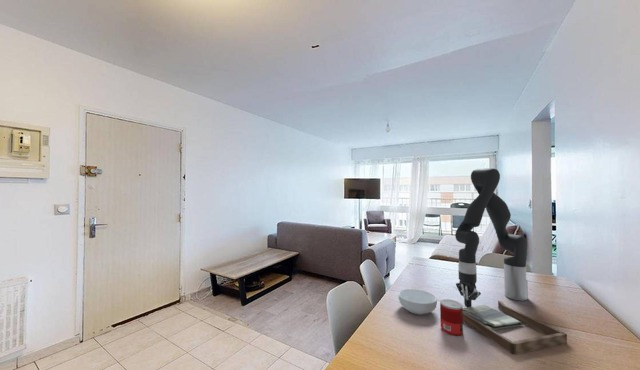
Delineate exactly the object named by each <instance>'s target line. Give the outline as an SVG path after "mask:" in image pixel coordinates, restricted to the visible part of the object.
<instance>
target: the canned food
mask: <svg viewBox="0 0 640 370" xmlns="http://www.w3.org/2000/svg"><path fill="white" fill-rule="evenodd" d="M439 306H440V309H439V312H440V313H439V314H440V329H441V331H442V332H444V333H445V334H447V335H449V336H453V337H459V336H462V335H463V333H464V322H463V308H464V307H463V304H462V303H460V302H459V301H456V300H453V299H441V300H440V303H439Z"/></svg>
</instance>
